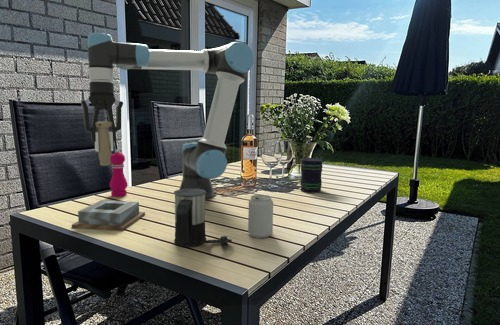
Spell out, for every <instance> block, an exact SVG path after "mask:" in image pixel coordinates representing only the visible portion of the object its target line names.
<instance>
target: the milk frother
mask: <svg viewBox="0 0 500 325" xmlns="http://www.w3.org/2000/svg"><path fill="white" fill-rule="evenodd" d="M179 189H180V188H179ZM179 189H176V190H174V191H173V194H174V228H175V229H174V239H173V240H174V241H173V242H174V244H176V245H177V246H180V247H185V248H186V247H190V248H191V247H198V246H202V245H204V244H220V245H221V247H222V246H223V247H224V246H226V247H227V245H229V244H228V243H232V242H233V239H230V238H228V236H227V235H224V236H223V235H221V236H220V238H217V239H208V240H207V238H206V199H205V193H206V191H205V190H202V189H191V188H189V189H180V190H179Z"/></svg>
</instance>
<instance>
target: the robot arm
mask: <svg viewBox="0 0 500 325" xmlns="http://www.w3.org/2000/svg"><path fill="white" fill-rule="evenodd" d="M113 40H114V39H113V38H112V35H111V34H109V33H104V32H91V33H89V34H88V36H87V60H88V79H89V81H90V82H89V84H88V85H89V96H88V98H87V99H84V100H83V99H82V100H81V101H80V104H81V107H82V109H83V110H82V112H83V122H84V129H85V130H86V131H88V132H90V138H91V142H94V150H95V152H96V153H97V152H99V143H98V131H96V130H97V128H96V122H98V120H99V114H100V110H104V111H105V113H106V116H107V119H108V122H112V126H111V127H109V128H110V131H108V136H109V143H110V152H114V142H116V141H117V134H116V133H117V132H118V131H121V130H122V108H123V105H124V102H123V101H121V100H118V99H116V97H115V88H114V83H113V82H114V68H113V66H114V65H116V66H117V68H118V69H121V70H125V71H127V70H165V71H166V70H168V71H169V70H170V71H201V72H202V73H204V74H213V75H214V74H215V75H216V76H217V77H216V78H217V83H216V85H215V90H214V94H213V99H212V102H211V105H210V109H209V114H208V117H207V121H206V126H205V129H204V133H203V136H202V138H200V139H198V141H197V142H190V143H188V142H187V143H184V144H183V145H182V150H181V155H182V156H181V157H182V179H181V183H180V186H179V189H178V190H180V189H189V188H191V189H202V190H205V191H206V193H205V200H206V199H211V198H212V197H214V196H215V190H214V186H213V183H212V181H211V180H215V179H217V178H219V177H221V176H222V175H223V174H224V173H225V171H226V169H227V167H228V160H227V157H226V152H227V150H228V148H227V145H226V144H225V141H226V137H227V133H228V129H229V125H230V123H231V118H232V115H233V114H232V113H233V110H234V106H235V103H236V99H237V96H238V92H239V87H240V85H241V84H242V83H244V82H245V79H246V76H247V73H248V72H249V71H250V70H251V69H252V68H253V67H254V64H255V63H254V62H255V54H254V52H253V50H252V48H251V47H250V46H249V45H248V44H247V43H245V42H243V41H232V42H229V43H228V44H225V45H222V46H219V47H215V48H208V49H207V48H203V49H202V50H201V51H200V50H199V51H198V50H197V51H196V50H195V51H194V50H178V49H177V50H175V49H152V48H149V46H148V45H147V44H143V43H133V42H121V41H115V40H114V41H113ZM90 104H91V105H92V106H93V113H92V114H93V115H92V121H91V126H90V116H89V115H90V114H89V105H90ZM113 105H115V107H116V108H115V110H116V111H115V113H116V115H115V119H114V117H113V113H112V106H113ZM114 120H116V122H114ZM92 122H93V123H92Z"/></svg>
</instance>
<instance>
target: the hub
mask: <svg viewBox="0 0 500 325" xmlns="http://www.w3.org/2000/svg"><path fill="white" fill-rule="evenodd" d="M77 215H78V216H77V217H78V219H77V220H78V221H75V222H74V223H72V224H71V229H85V230H86V229H88V230H101V231H102V230H105V231H120V232H123V231H125V230H126V229H127V228H129V227H130V226H132V225H133V224H134V223H136V222H137V221H139V220H140V219H141V218H142V217H144V216H145V215H146V212H145V211H140V202H139V201H128V200H127V201H124V200H107V199H106V200H102V199H100V200H99V201H97V202H94V203H92V204H91V205H88V206H86V207H84V208H82V209H80V210H78V211H77Z"/></svg>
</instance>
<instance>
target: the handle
mask: <svg viewBox="0 0 500 325" xmlns="http://www.w3.org/2000/svg"><path fill="white" fill-rule="evenodd" d="M92 123H93V122H92V121H91V124H92ZM111 126H112V122H109V121H97V122H96V130H97V131H96V132H98V143H99V152H98V159H99V165H100V166H103V167H107V166H110V165H111V161H110V157H111V155H112V154H111V152H112V151H110V143H109V128H110V127H111Z"/></svg>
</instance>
